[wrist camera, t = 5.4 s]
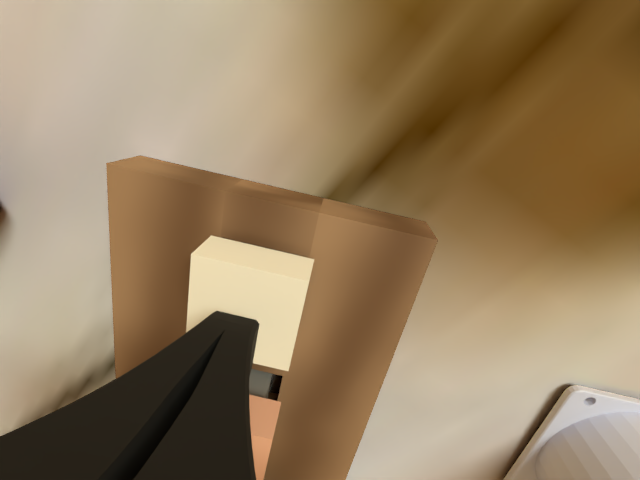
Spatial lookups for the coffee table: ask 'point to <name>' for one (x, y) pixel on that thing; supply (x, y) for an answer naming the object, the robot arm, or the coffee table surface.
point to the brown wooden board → (319, 307)
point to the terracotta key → (261, 419)
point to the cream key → (251, 292)
